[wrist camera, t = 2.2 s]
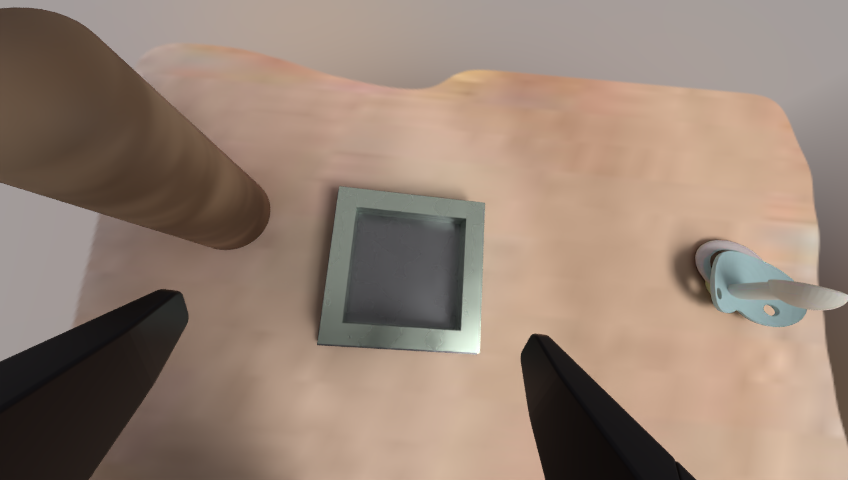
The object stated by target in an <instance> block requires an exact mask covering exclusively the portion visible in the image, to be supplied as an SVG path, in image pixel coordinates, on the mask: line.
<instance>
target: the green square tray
mask: <svg viewBox="0 0 848 480" xmlns="http://www.w3.org/2000/svg"><path fill="white" fill-rule="evenodd" d="M484 215H485V203H481V202H473V201H464V200H455V199H447V198H438V197H429V196H420V195H412V194H403V193H394V192H385V191H377V190H368V189H359V188H350V187H342V186H339V190H338V197H337V204H336V211H335V219H334V226H333V233H332V240H331V248H330V255H329V262H328V269H327V276H326V284H325V291H324V298H323V305H322V313H321V320H320V327H319V334H318V342H317V345H324V346H341V347H359V348H376V349H393V350H410V351H428V352H445V353H462V354H477V353H480V330H481V302H482V273H483V244H484Z"/></svg>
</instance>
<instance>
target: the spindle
mask: <svg viewBox="0 0 848 480" xmlns="http://www.w3.org/2000/svg"><path fill="white" fill-rule="evenodd" d="M0 183H4V184H7V185H10V186H13V187H17V188H20V189H24V190H27V191H30V192H33V193H36V194H39V195H43V196H46V197H49V198H52V199H56V200H59V201H62V202H65V203H69V204H72V205H75V206H78V207H82V208H85V209H88V210H92V211H95V212H98V213H101V214H104V215H108V216H111V217H114V218H117V219H121V220H124V221H127V222H130V223H134V224H137V225H140V226H143V227H147V228H150V229H153V230H156V231H160V232H163V233H166V234H169V235H173V236H176V237H179V238H182V239H186V240H189V241H192V242H195V243H199V244H202V245H205V246H208V247H212V248H215V249H221V250H230V249H236V248H240V247H243V246H245V245H247V244H249V243H251V242H252V241H254V240H255V239H256V238H257V237H258V236H259V235H260V234H261V233H262V232H263V231H264V229H265V227H266V226H267V223H268V221H269V217H270V203H269V199H268V197H267V195H266V193H265V192H264V190H263V189H262V188H261V187H260V186H259V185H258V184H257V183H256V182H255V181H254V180H253V179H252V178H251V177H249V176H248V175H247V174H246V173H245V172H244V171H243V170H242V169H241V168H240V167H239V166H238V165H236V164H235V163H234V162H233V161H232V160H231V159H230V158H229V157H228V156H227V155H226V154H224V153H223V152H222V151H221V150H220V149H219V148H218V147H217V146H216V145H215V144H214V143H213V142H211V141H210V140H209V139H208V138H207V137H206V136H205V135H204V134H203V133H202V132H201V131H200V130H198V129H197V128H196V127H195V126H194V125H193V124H192V123H191V122H190V121H189V120H188V119H187V118H185V117H184V116H183V115H182V114H181V113H180V112H179V111H178V110H177V109H176V108H175V107H173V106H172V105H171V104H170V103H169V102H168V101H167V100H166V99H165V98H164V97H163V96H162V95H160V94H159V93H158V92H157V91H156V90H155V89H154V88H153V87H152V86H151V85H150V84H149V83H147V82H146V81H145V80H144V79H143V78H142V77H141V76H140V75H139V74H138V73H137V72H136V71H134V70H133V69H132V68H131V67H130V66H129V65H128V64H127V63H126V62H125V61H124V60H123V59H121V58H120V57H119V56H118V55H117V54H116V53H115V52H114V51H113V50H112V49H111V48H109V47H108V46H107V45H106V44H105V43H104V42H103V41H102V40H101V39H100V38H99V37H98V36H96V35H95V34H94V33H93V32H92V31H90V30H89V29H88V28H87V27H85V26H84V25H82V24H81V23H79V22H77V21H75V20H73V19H71V18H69V17H67V16H64V15H61V14H58V13H55V12H51V11H47V10H42V9H34V8H2V9H0Z"/></svg>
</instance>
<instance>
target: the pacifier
mask: <svg viewBox="0 0 848 480" xmlns="http://www.w3.org/2000/svg"><path fill="white" fill-rule="evenodd" d="M717 251H725V252H722V253H720V254H718V255H717V256H716V258H715V260H714V262H713V266H712V268H711V266H710V259H711V256H712V255H713V254H714V253H715V252H717ZM695 261H696V266H697V268H698V270H699V272H700V274H701V275H702V276H703V278H704V279H705V280H706V281H705V284H706V288H707V290H708V291H709V293H710V294H711V298H712V302H713V304H714V306H715V308H716V309H717V310H718V311H721V312H725V313H732V312H734V311H738V312H739V313H740V314H741V315H742V316H744V317H745V318H747V319H748V320H750V321H753V322H755V323H758V324H761V325H765V326H772V327H785V326H789V325H793V324H795V323H797V322H799V321H800V320H801V319H802V318H803V317H804V315H805V314H806V311H807V309H809V310H830V309H834V308H838V307H840V306H842V305H844V304H845V303H846V302H847V301H848V295H847V294H844V293H842V292H839V291H836V290H832V289H829V288H825V287H821V286H816V285H811V284H806V283H801V282H794V281H793V279H791V278H790V277H789V276H787V275H786V274H785V273H784V272H782V271H781V270H779V269H777V268H775V267H774V266H772V265H770V264H768V263H766V262H764V261H763V260H762V259H761V258H760V257H759V256H758V255H757V254H756V253H755V252H753V251H752V250H750V249H748V248H747V247H745V246H743V245H740V244H738V243H735V242H731V241H727V240H713V241H708V242H706V243H705V244H703V245H701V246H700V247H699V249H698V250H697V252H696V256H695ZM765 305H769V306H771V307H772V308H773V309H774V311H775V314H774V315H773V316H770V315H768V314H767V313H765V311H764V309H763V308H764V306H765Z"/></svg>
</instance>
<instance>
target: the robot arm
mask: <svg viewBox="0 0 848 480" xmlns="http://www.w3.org/2000/svg"><path fill="white" fill-rule="evenodd" d="M187 322H188V311H187V308H186V304H185V301H184V297H183V294H182V293H181V292H179V291H175V290H166V289H160V290H157V291H155V292H152V293H150V294H148V295H146V296H144V297H141V298H139V299H137V300H135V301H133V302H130V303H128V304H126V305H124V306H122V307H119V308H117V309H115V310H113V311H111V312H108V313H106V314H104V315H102V316H100V317H97V318H95V319H93V320H91V321H89V322H86V323H84V324H82V325H80V326H78V327H75V328H73V329H71V330H69V331H67V332H64V333H62V334H60V335H58V336H56V337H54V338H51V339H49V340H47V341H44V342H43V343H40V344H38V345H36V346H34V347H31V348H29V349H27V350H25V351H23V352H21V353H18V354H16V355H14V356H12V357H9V358H7V359H5V360H3V361H1V362H0V480H89V478H90V477H91V476H92V474H93V473H94V471H95V470H96V468H97V467H98V465H99V464H100V462H101V461H102V459H103V458H104V457H105V455H106V454H107V452H108V451H109V449H110V448H111V446H112V445H113V443H114V442H115V441H116V439H117V438H118V436H119V435H120V433H121V432H122V430H123V429H124V427H125V426H126V424H127V423H128V422H129V420H130V419H131V417H132V416H133V414H134V413H135V411H136V410H137V408H138V407H139V406H140V404H141V403H142V401H143V400H144V398H145V397H146V395H147V394H148V392H149V391H150V389H151V388H152V386H153V385H154V383H155V381H156V379H157V378H158V376H159V374H160V373H161V371H162V369H163V367H164V365H165V363H166V362H167V360H168V358H169V356H170V354H171V352H172V351H173V349H174V347H175V345H176V343H177V341H178V340H179V338H180V336H181V334H182V332H183V331H184V329H185V327H186V325H187ZM521 366H522V373H523V379H524V386H525V392H526V399H527V405H528V411H529V417H530V421H531V425H532V429H533V433H534V437H535V441H536V445H537V449H538V453H539V457H540V461H541V464H542V468H543V472H544V476H545V480H696V479H695V478H694V477H693V476H692V475H691V474H690V473H689V472H688V471H687V470H686V469H685V468H684V467H683V466H682V465H681V464H680V463H679V462H677V461H675V459H674V458H673V457H672V456H671V455H670V454H669V453H668V452H667V451H666V450H665V449H664V448H663V447H662V446H661V445H660V444H659V443H658V442H657V441H656V440H655V439H654V438H653V437H652V436H651V435H650V434H649V433H648V432H647V431H646V430H645V429H644V428H643V427H641V426H640V425H639V424H638V423H637V422H636V421H635V420H634V419H633V418H632V417H631V416H630V415H629V414H628V413H627V412H626V411H625V410H624V409H623V408H622V407H621V406H620V405H619V404H618V403H617V402H616V401H615V400H614V399H613V398H612V397H611V396H610V395H609V394H608V393H607V392H606V391H605V390H604V389H602V388H601V387H600V386H599V385H598V384H597V383H596V382H595V381H594V380H593V379H592V378H591V377H590V376H589V375H588V374H587V373H586V372H585V371H584V370H583V369H582V368H581V367H580V366H579V365H578V364H577V363H576V362H575V361H574V360H573V359H572V358H571V357H570V356H569V355H568V354H567V353H566V352H564V351H563V350H562V349H561V348H560V347H559V346H558V345H557V344H556V343H555V342H554V341H553V340H552V339H551V338H550V337H549V336H547V335H542V334H532V335H531V336H530V338H529V340H528V342H527V343H526V345H525V347H524V349H523V351H522V353H521Z"/></svg>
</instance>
